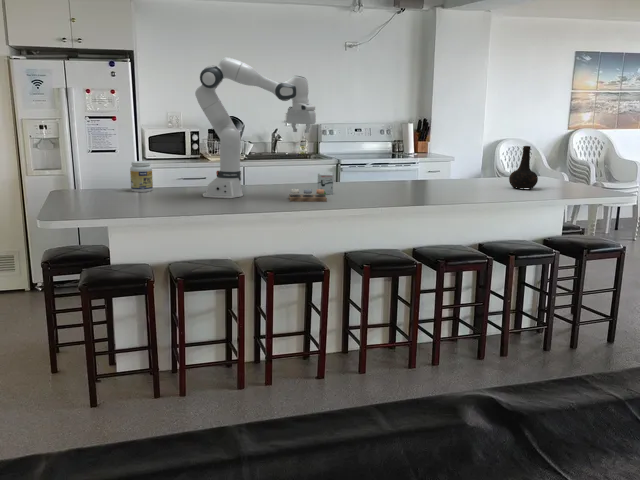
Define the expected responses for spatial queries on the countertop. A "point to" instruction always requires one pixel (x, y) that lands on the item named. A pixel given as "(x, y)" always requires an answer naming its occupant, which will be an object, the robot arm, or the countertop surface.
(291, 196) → the button panel
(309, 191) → the slate button
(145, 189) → the supplement tub
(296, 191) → the cream button
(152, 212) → the countertop surface
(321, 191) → the terracotta button
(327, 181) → the ink box
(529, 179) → the glass bottle
